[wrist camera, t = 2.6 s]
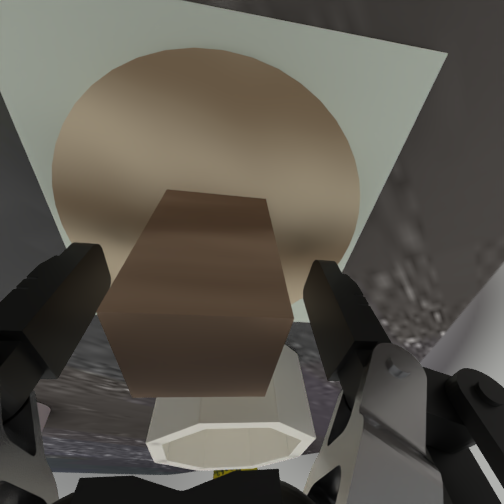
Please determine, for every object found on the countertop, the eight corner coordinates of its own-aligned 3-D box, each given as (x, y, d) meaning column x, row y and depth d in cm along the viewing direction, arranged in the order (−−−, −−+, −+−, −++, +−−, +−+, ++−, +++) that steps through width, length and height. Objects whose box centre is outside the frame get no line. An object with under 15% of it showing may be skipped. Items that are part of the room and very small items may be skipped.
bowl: (164, 327, 17) (137, 424, 13) (307, 331, 19) (332, 420, 14) (173, 392, 24) (158, 472, 19) (279, 392, 25) (289, 467, 20)
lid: (2, 14, 7) (-942, -211, 1) (406, 82, 8) (728, 106, 3) (108, 305, 15) (31, 447, 9) (308, 312, 16) (346, 437, 11)
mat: (-38, -40, 7) (-58, -48, 6) (436, 54, 9) (448, 53, 8) (98, 307, 16) (94, 314, 15) (315, 315, 17) (317, 322, 17)
